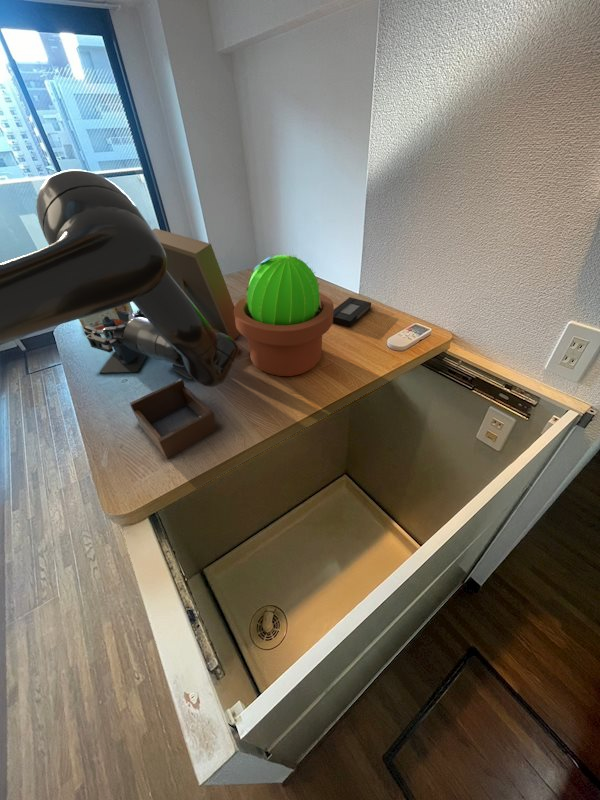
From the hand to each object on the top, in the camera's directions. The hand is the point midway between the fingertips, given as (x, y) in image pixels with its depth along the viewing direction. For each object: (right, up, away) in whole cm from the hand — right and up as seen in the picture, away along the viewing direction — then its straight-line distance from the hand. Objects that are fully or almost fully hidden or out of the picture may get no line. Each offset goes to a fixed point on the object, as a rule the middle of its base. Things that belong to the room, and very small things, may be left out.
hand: (103, 322), depth 75 cm
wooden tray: (+21, -23, -11) cm, 33 cm away
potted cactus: (+42, -7, +7) cm, 43 cm away
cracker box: (-11, +5, +22) cm, 25 cm away
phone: (+22, -8, +6) cm, 24 cm away
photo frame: (+16, +1, +17) cm, 24 cm away
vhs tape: (+60, +8, +24) cm, 65 cm away
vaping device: (+3, -8, +7) cm, 11 cm away
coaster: (+2, -8, +6) cm, 11 cm away
